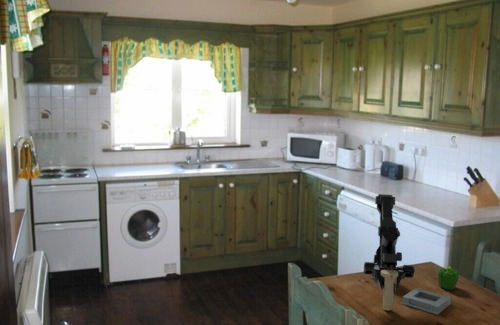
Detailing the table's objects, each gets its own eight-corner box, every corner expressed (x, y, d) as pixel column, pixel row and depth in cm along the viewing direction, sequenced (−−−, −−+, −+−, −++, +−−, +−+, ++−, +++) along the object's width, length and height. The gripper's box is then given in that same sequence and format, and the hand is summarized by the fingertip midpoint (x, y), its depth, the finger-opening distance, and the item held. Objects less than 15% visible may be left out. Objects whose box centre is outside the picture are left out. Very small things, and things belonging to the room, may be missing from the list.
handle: (397, 311, 192) (400, 274, 189) (381, 312, 191) (383, 274, 189) (393, 306, 196) (395, 269, 194) (377, 306, 196) (379, 269, 194)
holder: (402, 303, 200) (402, 296, 199) (416, 294, 209) (416, 287, 209) (437, 314, 190) (437, 307, 190) (450, 304, 200) (450, 296, 200)
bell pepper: (438, 282, 222) (440, 260, 221) (458, 286, 218) (460, 264, 217) (435, 289, 215) (436, 266, 214) (455, 293, 211) (457, 270, 210)
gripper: (365, 242, 195) (364, 280, 186) (415, 245, 192) (417, 284, 183) (363, 254, 204) (363, 291, 195) (411, 258, 201) (413, 296, 192)
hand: (388, 290), depth 191 cm, fingers closed on handle, 5 cm apart
